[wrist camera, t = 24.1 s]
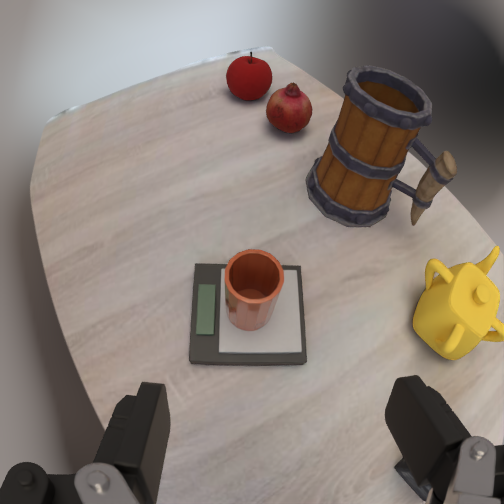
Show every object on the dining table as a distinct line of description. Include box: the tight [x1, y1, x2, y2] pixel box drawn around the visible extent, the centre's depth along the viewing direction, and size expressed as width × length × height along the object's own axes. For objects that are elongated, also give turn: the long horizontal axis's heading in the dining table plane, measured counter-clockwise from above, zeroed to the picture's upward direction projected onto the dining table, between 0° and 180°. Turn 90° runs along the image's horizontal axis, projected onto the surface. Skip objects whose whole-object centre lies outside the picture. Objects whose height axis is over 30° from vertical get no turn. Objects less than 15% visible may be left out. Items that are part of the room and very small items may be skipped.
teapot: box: [413, 246, 504, 360], centre depth 35 cm, size 14×13×10 cm
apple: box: [226, 52, 272, 100], centre depth 57 cm, size 9×9×10 cm
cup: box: [224, 249, 284, 331], centre depth 32 cm, size 5×5×9 cm
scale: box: [189, 264, 307, 366], centre depth 38 cm, size 13×12×3 cm
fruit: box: [266, 83, 312, 133], centre depth 52 cm, size 8×8×10 cm
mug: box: [306, 65, 457, 227], centre depth 40 cm, size 19×14×20 cm
